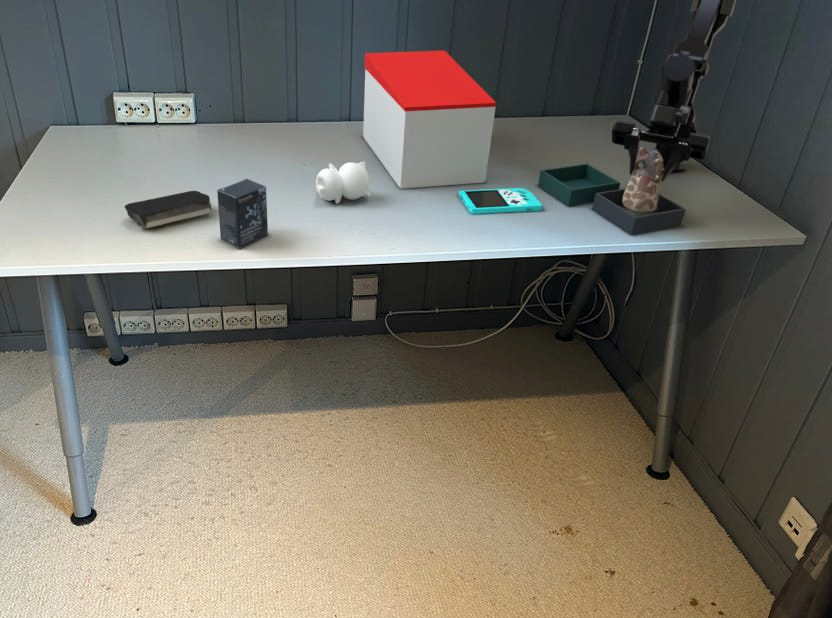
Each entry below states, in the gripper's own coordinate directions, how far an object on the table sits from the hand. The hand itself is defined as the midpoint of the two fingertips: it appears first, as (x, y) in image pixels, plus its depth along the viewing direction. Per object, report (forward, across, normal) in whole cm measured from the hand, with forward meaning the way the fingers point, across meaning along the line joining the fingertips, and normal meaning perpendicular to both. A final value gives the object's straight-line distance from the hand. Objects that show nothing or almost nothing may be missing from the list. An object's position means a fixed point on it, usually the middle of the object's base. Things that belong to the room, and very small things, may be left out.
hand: (646, 177), depth 150 cm
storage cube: (+1, -54, +12) cm, 55 cm away
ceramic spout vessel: (+4, 0, +6) cm, 7 cm away
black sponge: (+42, -84, -30) cm, 98 cm away
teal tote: (+1, -15, +12) cm, 19 cm away
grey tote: (+6, 0, +8) cm, 10 cm away
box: (+42, -65, -29) cm, 83 cm away
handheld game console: (+12, -28, +2) cm, 30 cm away
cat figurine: (+23, -59, -10) cm, 64 cm away
